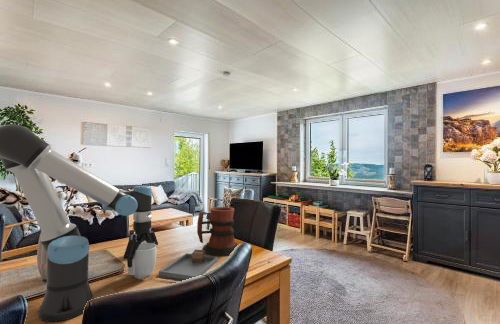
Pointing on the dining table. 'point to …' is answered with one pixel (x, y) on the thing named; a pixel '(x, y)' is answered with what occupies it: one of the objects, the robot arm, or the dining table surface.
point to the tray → (187, 268)
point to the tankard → (218, 231)
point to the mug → (145, 260)
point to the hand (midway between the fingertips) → (141, 267)
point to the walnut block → (198, 256)
